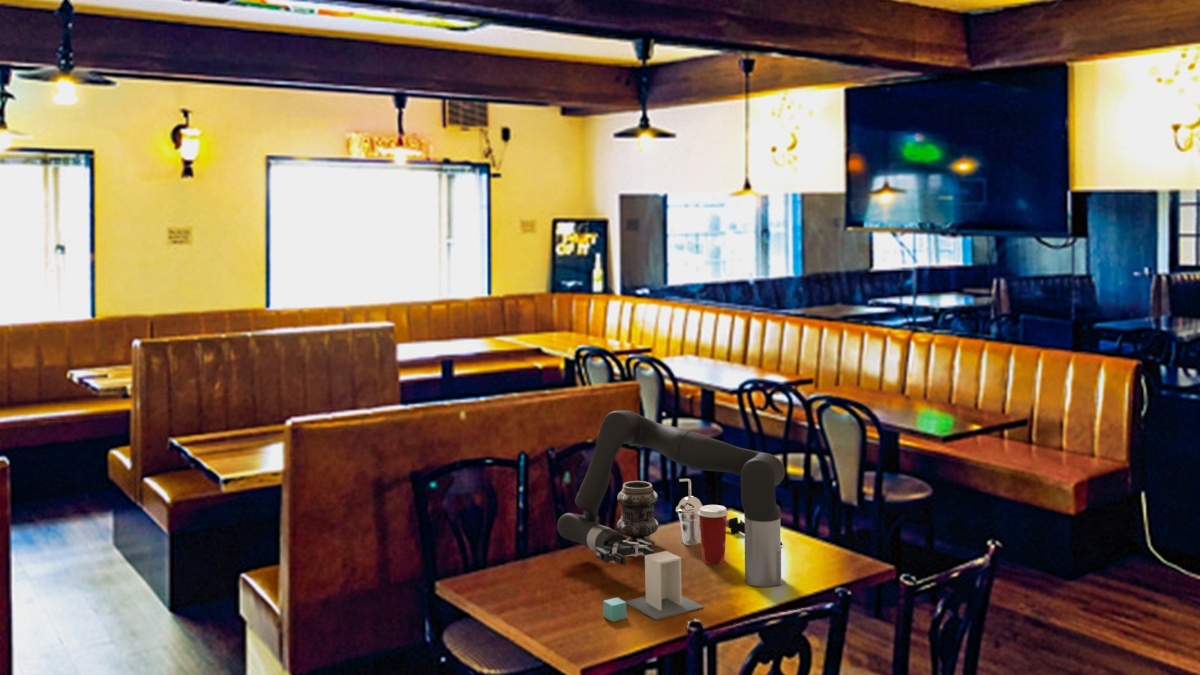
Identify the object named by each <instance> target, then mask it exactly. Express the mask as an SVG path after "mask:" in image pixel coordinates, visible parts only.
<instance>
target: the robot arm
mask: <svg viewBox="0 0 1200 675" xmlns="http://www.w3.org/2000/svg"><path fill="white" fill-rule="evenodd" d="M625 444H630V445H631V444H632V445H636V446H641V447H644V448H649V449H652V450H655V451H656V452H658V453H660V454H661V455H662V456H664V457H665V458H667V459H669V460H670V461H673V462H675V463H677V464H680V465H682V466H686V467H689V468H691V469H692V468H693V469H695V470H701V471H708V472H710V471H711V472H723V473H731V474H734V475H737V476H740V495H741V496H740V498H741V499H740V500H741V506H742V509H743V511H744V513H743V514H744V515H743V516H744V523H745V534H744V581H745V583H747V584H748V585H750V586H753V587H763V588H764V587H765V588H766V587H775V586H781V585H782V548H781V546H782V545H781V546H780V541H781V507H780V506H779V505H778V504H777V502H776V487H778V486H779V485H780V484H781V482H782V481H783V480H784V478H785V475H786V469H785V466H784V464H783V462H782V461H781V460H780V459H779V458H778V457H777V456H775V455H773V454H771V453H768V452H763V451H757V450H752V449H747V448H744V447H743V448H742V447H739V446H735V445H733V444H730V443H727V442H725V441H722V440H719V439H715V438H712V437H709V436H706V435H704V434H701V433H699V432H698V433H697V432H696V431H695V432H694V431H692V430H688V429H685V428H682V427H676V426H672V425H667V424H663V423H659V422H656V421H654V420H652V419H650V418H647V417H645V416H643V415H640V414H638V413H636V412H634V411H631V410H625V409H624V410H614V411H613V410H612V411H610V412H609V413H607V414H606V415H605V417H604V418H603V421H602V423H601V426H600V429H599V432H598V437H597V440H596V444H595V447H594V451H593V454H592V457H591V460H590V464H589V466H588V470H587V471H586V473H585V476H584V478H583V481H582V483H581V485H580V488H579V489H578V492H577V494H576V496H575V499H574V502H575V503H574V504H575V505H576V506H577V507H578V508H579V509H580V510H582V511H583V514H577V513H573V512H572V513H571V512H566V513H564V514H562V515H561V516H560V517H559V518H558V521H557V532H558V533H559V535H560V536H561V537H562V538H564V539H566V540H569V541H572V542H575V543H578V544H581V545H583V546H585V547H586V548H588V549H590V550H592V551H593V552H594V553H595V556H596V557H595V558H597V559H598V560H600V561H601V562H603V563H604V564H609V563H610V561H611V563H617V564H620V565H621V566H625V565H626V564H627V559H626V558H627V557H629V556H630V557H639V556H644V557H645V555H649V554H654V553H655V550H654V549H653V548H652V544H651V543H649V542H646V541H644V540H641V539H637V542H629V541H627V540H626V539H627V538H626V537H625V535H624V534H622V533H621V532H620V531H617V530H615V529H613V528H611V527H609V526H605V525H602V524H600V523H598V522H597V521H598V520H597V519H598V514H599V509H600V506H601V503H602V502H603V500H604V497H605V495H606V493H607V490H608V488H609V484H610V479H611V472H612V466H613V462H614V460H615V457H616V455H617V454H618V452H619V450H620V449H621V447H622V445H625ZM634 547H635V549H634ZM634 550H635V552H634Z"/></svg>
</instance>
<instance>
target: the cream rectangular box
mask: <svg viewBox="0 0 1200 675" xmlns="http://www.w3.org/2000/svg"><path fill="white" fill-rule="evenodd" d="M644 577H645V578H644V580H645V582H644V584H645V586H644V587H645V596H646V603H648V604H649V605H651V606H653V607H655V608H656V609H658V610H662V607H661V600H662V599H666V598H667V599H669V600H671V601H673V602H674V603H676V604H678V605H682V596H683V595H682V594H683V593H682V591H683V590H682V557H681V556H679V555H677V554H674V553H672V552H671V551H668V550H664V551H659V552H654V554H649V555H645V556H644Z"/></svg>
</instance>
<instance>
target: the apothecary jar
mask: <svg viewBox="0 0 1200 675" xmlns="http://www.w3.org/2000/svg"><path fill="white" fill-rule="evenodd" d="M658 499H659V497H658V493H657V492H656V491H655V490H654V489H653V485H652V483H650V482H649V481H648V482H647V481H644V480H643V481H641V480H634V481H633V480H630V481H627V482H624V483H623V485H622V489H621V491H620V492H618V494H617V498H616V500H617V502H618V503H619V504H620V505H621V515H620V519H619V520H618V521H617V523H616V528H617V530H618V532H619V533H621V534H623V535H624V536H626V537H627V536H628V538H626V540H627V541H629V542H637V539H641V540H644V541H646V542H649V543H651V544H652V547H654V546H655V545H656V543H655V541H654V540H653V539H650V538H648V537H649V536H652V535H653V534H655V533H656V532H657V530H658V528H659V522H658V521H657V519H655V504H657V502H658ZM633 550H635V547H634V549H633Z"/></svg>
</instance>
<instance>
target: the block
mask: <svg viewBox="0 0 1200 675" xmlns="http://www.w3.org/2000/svg"><path fill="white" fill-rule="evenodd" d="M625 601H626V600H623V599H621V598H620V597H613V598H609V599H606V600H603V601H602V603H603V612H602V613H603V617H604V618H605V617H606V618H605V619H607V620H608V621H610V620H612V621H613V622H616V621H615V620H617V621H620V619H621V620H624V618H625V619H627V604H626V602H625ZM612 621H611V622H612Z"/></svg>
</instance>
